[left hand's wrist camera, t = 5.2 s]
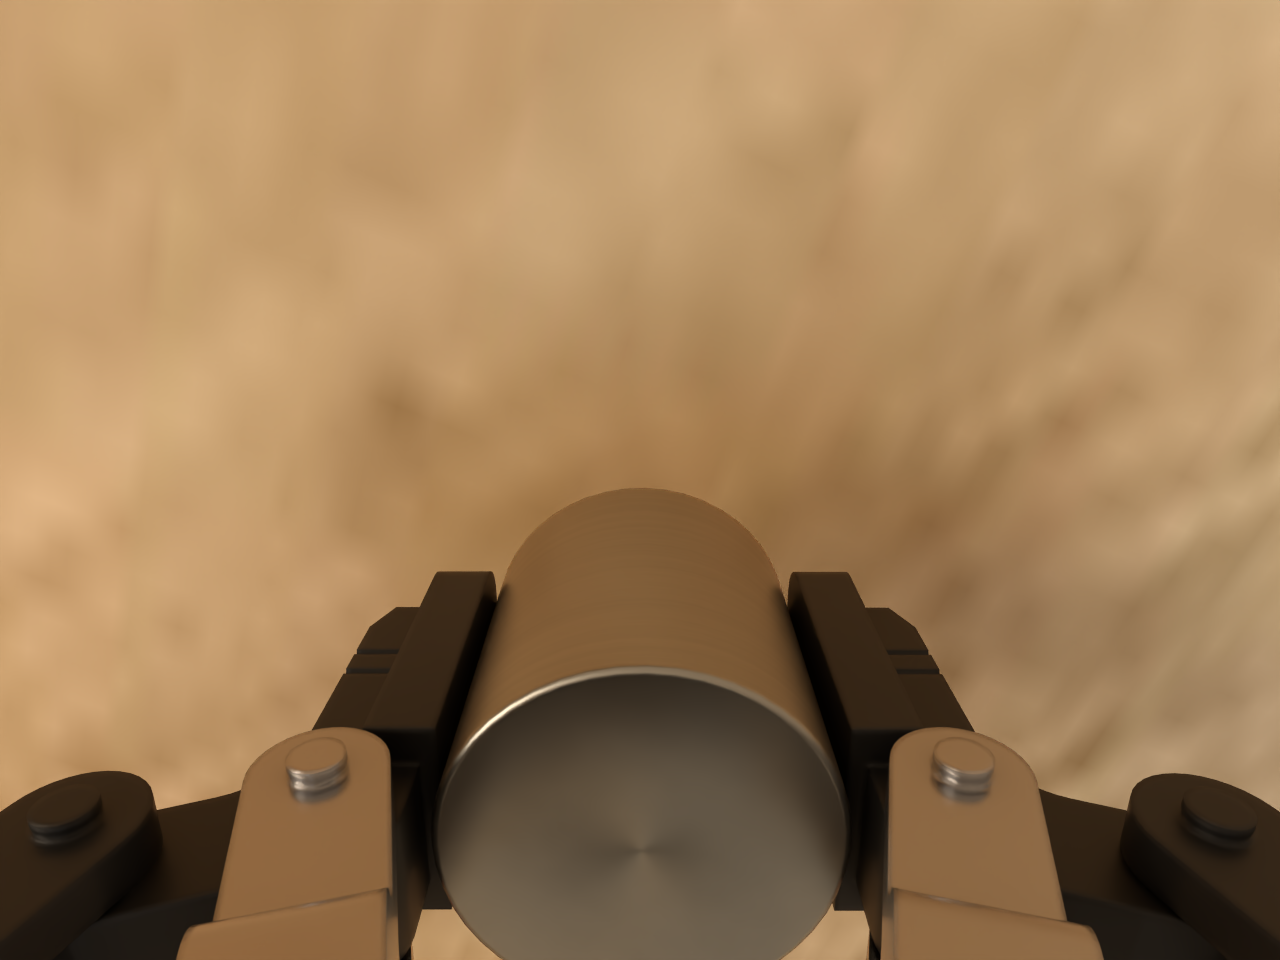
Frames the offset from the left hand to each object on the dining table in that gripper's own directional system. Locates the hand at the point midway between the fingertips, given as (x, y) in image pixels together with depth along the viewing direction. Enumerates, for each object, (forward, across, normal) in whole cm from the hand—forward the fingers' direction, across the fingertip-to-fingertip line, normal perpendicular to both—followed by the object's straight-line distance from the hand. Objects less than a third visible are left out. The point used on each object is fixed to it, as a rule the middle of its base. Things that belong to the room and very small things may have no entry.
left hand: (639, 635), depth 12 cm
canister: (0, 0, 0) cm, 0 cm away
